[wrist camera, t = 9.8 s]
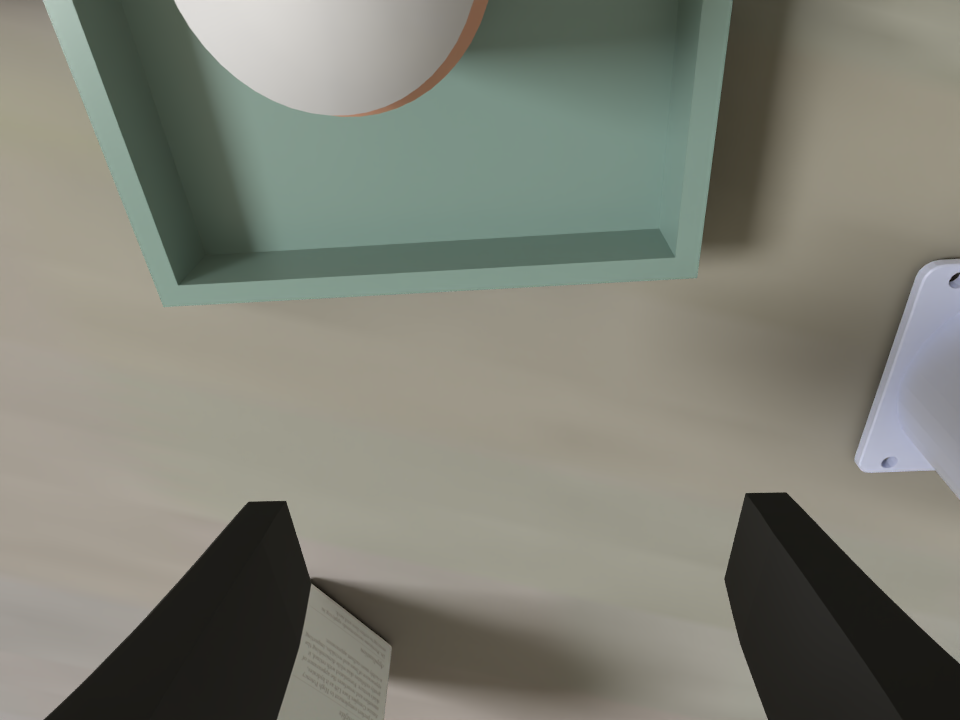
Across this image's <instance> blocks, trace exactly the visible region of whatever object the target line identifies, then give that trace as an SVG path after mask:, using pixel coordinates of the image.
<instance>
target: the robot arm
mask: <svg viewBox="0 0 960 720" xmlns="http://www.w3.org/2000/svg"><path fill="white" fill-rule="evenodd" d="M959 272H960V259H946V260H936V261H932V262H930V263H928V264H926V265H925V266H924V267H922V268H921V269H920V270H919V272H918V274H917V275H916V278H915V281H914V284H913V287H912V289H911V292H910V295H909V298H908V301H907V304H906V307H905V310H904V313H903V316H902V319H901V322H900V325H899V328H898V331H897V334H896V337H895V340H894V343H893V346H892V349H891V351H890V354H889V357H888V360H887V363H886V366H885V369H884V372H883V375H882V378H881V381H880V384H879V387H878V390H877V393H876V396H875V399H874V402H873V405H872V408H871V411H870V413H869V416H868V419H867V422H866V425H865V428H864V431H863V434H862V437H861V440H860V443H859V446H858V449H857V452H856V455H855V462H856V464H857V465H858V467H859V468H860V470H862V471H864V472H869V473H874V472H901V471H928V470H936V472H937V473H938V474H939V475H940V477H941V478H942V479H943V480H944V481H945V483H946V484H947V485H948V486H949V488H950V489H951V490H952V491H953V492H954V494H955V495H956V496H957V497H958V499H959V500H960V275H959V276H958V278H956V279H955V280H953V281H951V282H949V280H950V279H951V277H952V276H953V275H955V274H956V273H959ZM888 457H889V458H888ZM886 458H887V459H886ZM884 459H885V460H884ZM724 580H725V584H726V588H727V592H728V597H729V601H730V605H731V609H732V614H733V618H734V621H735V625H736V629H737V633H738V637H739V641H740V645H741V647H742V650H743V653H744V656H745V659H746V661H747V664H748V667H749V669H750V672H751V675H752V678H753V680H754V683H755V686H756V689H757V691H758V694H759V697H760V699H761V702H762V705H763V707H764V710H765V713H766V715H767V718H768V720H960V664H959V663H958V662H957V661H956V660H955V659H954V658H953V657H952V656H950V655H949V654H948V653H947V652H946V651H945V650H944V649H943V648H942V647H941V646H940V645H938V644H937V643H936V642H935V641H934V640H933V639H932V638H931V637H930V636H929V635H928V634H927V633H926V632H925V631H923V630H922V629H921V628H920V627H919V626H918V625H917V624H916V623H915V622H914V621H913V620H912V619H911V618H910V617H909V616H908V615H907V614H906V613H905V612H904V611H903V610H902V609H901V608H900V607H899V606H898V605H897V604H896V603H894V602H893V601H892V600H891V599H890V598H889V597H888V596H887V595H886V594H885V593H884V592H883V591H882V590H881V589H880V588H879V587H878V586H877V585H876V584H875V583H874V582H873V581H872V580H871V579H870V578H869V577H868V576H867V575H866V574H865V573H864V572H863V571H862V570H861V569H860V568H859V567H858V566H857V565H856V564H855V563H854V562H853V561H852V560H851V559H850V558H849V557H848V556H847V555H846V554H845V552H844V551H843V550H842V549H841V548H840V547H839V546H838V545H837V544H836V543H835V542H834V541H833V540H832V539H831V538H830V537H829V536H828V535H827V534H826V533H825V532H824V531H823V530H822V529H821V528H820V527H819V526H818V524H817V523H816V522H815V521H814V520H813V519H812V518H811V517H810V516H809V515H808V514H807V513H806V512H805V511H804V510H803V509H802V508H801V507H800V506H799V505H798V504H797V503H796V502H795V501H794V500H793V499H792V498H791V497H790V496H789V495H788V494H787V493H746V494H745V498H744V502H743V506H742V510H741V514H740V518H739V522H738V526H737V530H736V534H735V538H734V542H733V547H732V551H731V555H730V559H729V563H728V567H727V571H726V575H725V579H724ZM310 589H311V580H310V577H309V574H308V571H307V567H306V564H305V561H304V558H303V554H302V551H301V548H300V545H299V541H298V538H297V535H296V532H295V529H294V525H293V522H292V519H291V516H290V512H289V509H288V506H287V503H286V501H263V502H248V503H247V504H246V505H245V506H244V507H243V508H242V509H241V511H240V512H239V513H238V514H237V515H236V516H235V517H234V519H233V520H232V521H231V522H230V523H229V524H228V525H227V527H226V528H225V529H224V530H223V531H222V532H221V534H220V535H219V536H218V537H217V538H216V539H215V540H214V542H213V543H212V544H211V545H210V546H209V547H208V549H207V550H206V551H205V552H204V553H203V554H202V555H201V557H200V558H199V559H198V560H197V561H196V562H195V563H194V565H193V566H192V567H191V568H190V569H189V570H188V571H187V573H186V574H185V575H184V576H183V577H182V578H181V579H180V581H179V582H178V583H177V584H176V585H175V586H174V587H173V588H172V589H171V590H170V592H169V593H168V594H167V595H166V596H165V597H164V598H163V599H162V600H161V601H160V603H159V604H158V605H157V606H156V607H155V608H154V609H153V610H152V611H151V612H150V614H149V615H148V616H147V617H146V618H145V619H144V620H143V621H142V622H141V623H140V624H139V626H138V627H137V628H136V629H135V630H134V631H133V632H132V633H131V634H130V635H129V636H128V637H127V638H126V639H125V640H124V641H123V642H122V643H121V644H120V645H119V646H118V647H117V648H116V649H115V650H114V651H113V652H112V653H111V654H110V655H109V656H108V657H107V658H106V659H105V661H104V662H103V663H102V664H101V665H100V666H99V667H98V668H97V669H96V670H95V671H94V672H93V673H92V674H91V675H90V676H89V677H88V678H87V679H86V680H85V681H84V682H83V683H82V684H81V685H80V686H79V687H78V688H77V689H76V690H75V691H74V692H72V693H71V694H70V695H69V696H68V697H67V698H66V699H65V700H64V701H63V702H62V703H61V704H60V705H59V706H58V707H57V708H56V709H55V710H54V711H53V712H51V713H50V714H49V715H48V716H47V717H46V718H45V719H44V720H277V718H278V714H279V711H280V708H281V705H282V702H283V699H284V695H285V692H286V689H287V686H288V683H289V679H290V676H291V673H292V670H293V666H294V663H295V660H296V657H297V653H298V650H299V646H300V642H301V637H302V632H303V627H304V622H305V617H306V611H307V606H308V600H309V595H310Z"/></svg>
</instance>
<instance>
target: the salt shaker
mask: <svg viewBox="0 0 960 720" xmlns="http://www.w3.org/2000/svg"><path fill="white" fill-rule="evenodd" d="M174 1H175V3H176V5H177V7H178V9H179V11H180V12H181V14H182V16H183V17H184V19H185V20H186V22H187V24H188V25H189V27H190V29H191V30H192V31H193V32H194V34H195V35H196V36H197V38H198V39H199V40H200V42H201V43H202V44H203V46H204V47H205V48H206V49H207V50H208V51H209V52H210V53H211V55H212V56H213V57H214V58H215V59H216V60H217V61H218V62H219V63H220V64H221V65H222V66H223V67H224V68H225V69H227V70H228V71H229V72H230V73H231V74H232V75H233V76H235V77H236V78H237V79H238V80H240V81H241V82H243V83H244V84H245V85H247V86H248V87H250V88H251V89H253V90H254V91H256V92H258V93H259V94H261V95H263V96H265V97H267V98H269V99H271V100H272V101H275V102H277V103H280V104H282V105H285V106H287V107H290V108H293V109H296V110H300V111H304V112H308V113H313V114H321V115H330V116H339V117H361V116H368V115H374V114H380V113H383V112H387V111H390V110H393V109H397V108H399V107H401V106H403V105H405V104H407V103H410V102H412V101H414V100H416V99H417V98H419V97H420V96H422V95H423V94H425V93H426V92H428V91H429V90H431V89H432V88H433V87H434V86H435V85H436V84H438V83H439V82H440V81H441V80H442V79H443V78H444V77H446V75H447V74H448V73H449V72H450V71H451V70H452V69H453V67H454V66H455V65H456V64H457V63H458V62H459V60H460V59H461V57H462V56H463V54H464V53H465V51H466V50H467V48H468V47H469V45H470V44H471V42H472V40H473V38H474V36H475V34H476V32H477V30H478V28H479V25H480V23H481V21H482V18H483V15H484V12H485V9H486V6H487V4H488V0H174Z"/></svg>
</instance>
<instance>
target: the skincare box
mask: <svg viewBox="0 0 960 720" xmlns="http://www.w3.org/2000/svg"><path fill="white" fill-rule="evenodd" d="M391 652H392V647H391V645H390V644H388V643H387V642H386V641H385V640H383V639H382V638H381V637H379V636H378V635H377V634H376V633H374V632H373V631H372V630H370V629H369V628H368V627H367V626H365V625H364V624H363V623H361V622H360V621H359V620H358V619H356V618H355V617H354V616H353V615H351V614H350V613H349V612H347V611H346V610H345V609H344V608H342V607H341V606H340V605H338V604H337V603H336V602H335V601H333V600H332V599H331V598H330V597H328V596H327V595H326V594H324V593H323V592H322V591H321V590H319V589H318V588H317V587H315V586H314V585H313V584H312V583H311V589H310V595H309V600H308V606H307V611H306V617H305V622H304V627H303V632H302V637H301V642H300V646H299V650H298V653H297V657H296V660H295V663H294V666H293V670H292V673H291V676H290V679H289V683H288V686H287V689H286V692H285V695H284V699H283V702H282V705H281V708H280V711H279V714H278V718H277V720H384V713H385V705H386V696H387V688H388V679H389V670H390V661H391Z"/></svg>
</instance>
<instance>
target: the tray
mask: <svg viewBox="0 0 960 720" xmlns="http://www.w3.org/2000/svg"><path fill="white" fill-rule="evenodd" d="M43 2H44V4H45V7H46V9H47V12H48V14H49V17H50V20H51V22H52V25H53V27H54V30H55V32H56V35H57V37H58V40H59V42H60V45H61V48H62V50H63V53H64V55H65V58H66V60H67V63H68V65H69V68H70V70H71V73H72V75H73V78H74V81H75V83H76V86H77V88H78V91H79V93H80V96H81V98H82V101H83V103H84V106H85V108H86V111H87V114H88V116H89V119H90V121H91V124H92V126H93V129H94V131H95V134H96V136H97V139H98V141H99V144H100V147H101V149H102V152H103V154H104V157H105V159H106V162H107V164H108V167H109V169H110V172H111V175H112V177H113V180H114V182H115V185H116V187H117V190H118V192H119V195H120V197H121V200H122V202H123V205H124V208H125V210H126V213H127V215H128V218H129V220H130V223H131V225H132V228H133V230H134V233H135V235H136V238H137V241H138V243H139V246H140V248H141V251H142V253H143V256H144V258H145V261H146V263H147V266H148V268H149V271H150V274H151V276H152V279H153V281H154V284H155V286H156V289H157V291H158V294H159V296H160V299H161V301H162V304H163V307H171V306H189V305H208V304H226V303H245V302H263V301H282V300H300V299H319V298H337V297H356V296H374V295H392V294H411V293H429V292H448V291H466V290H485V289H503V288H522V287H540V286H559V285H577V284H595V283H614V282H632V281H651V280H669V279H688V278H697V275H698V267H699V259H700V251H701V244H702V236H703V228H704V220H705V213H706V205H707V197H708V189H709V182H710V174H711V166H712V159H713V151H714V143H715V135H716V128H717V120H718V112H719V104H720V97H721V89H722V81H723V73H724V66H725V58H726V50H727V42H728V35H729V27H730V19H731V11H732V4H733V0H488V4H487V6H486V9H485V12H484V15H483V18H482V21H481V23H480V25H479V28H478V30H477V32H476V34H475V36H474V38H473V40H472V42H471V44H470V45H469V47H468V48H467V50H466V51H465V53H464V54H463V56H462V57H461V59H460V60H459V62H458V63H457V64H456V65H455V66H454V67H453V69H452V70H451V71H450V72H449V73H448V74H447V75H446V77H444V78H443V79H442V80H441V81H440V82H439V83H438V84H436V85H435V86H434V87H433V88H432V89H431V90H429V91H428V92H426V93H425V94H423V95H422V96H420V97H419V98H417V99H416V100H414V101H412V102H410V103H407V104H405V105H403V106H401V107H399V108H397V109H393V110H390V111H387V112H383V113H380V114H374V115H368V116H361V117H339V116H330V115H321V114H313V113H308V112H304V111H300V110H296V109H293V108H290V107H287V106H285V105H282V104H280V103H277V102H275V101H272V100H271V99H269V98H267V97H265V96H263V95H261V94H259V93H258V92H256V91H254V90H253V89H251V88H250V87H248V86H247V85H245V84H244V83H243V82H241V81H240V80H238V79H237V78H236V77H235V76H233V75H232V74H231V73H230V72H229V71H228V70H227V69H225V68H224V67H223V66H222V65H221V64H220V63H219V62H218V61H217V60H216V59H215V58H214V57H213V56H212V55H211V53H210V52H209V51H208V50H207V49H206V48H205V47H204V46H203V44H202V43H201V42H200V40H199V39H198V38H197V36H196V35H195V34H194V32H193V31H192V30H191V29H190V27H189V25H188V24H187V22H186V20H185V19H184V17H183V16H182V14H181V12H180V11H179V9H178V7H177V5H176V3H175V1H174V0H43Z"/></svg>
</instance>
